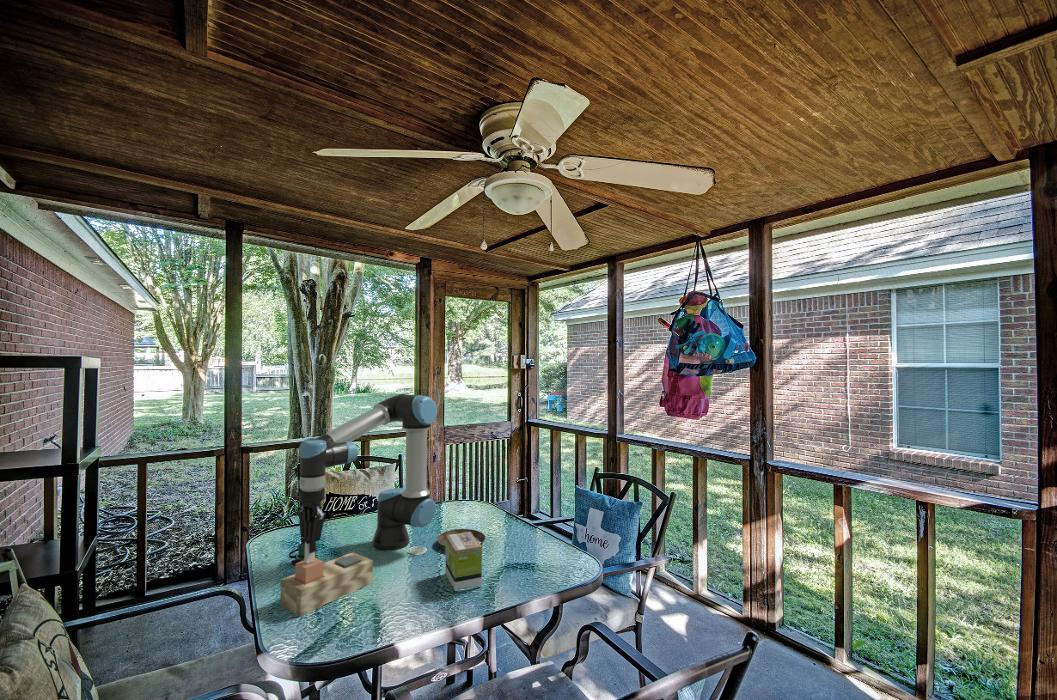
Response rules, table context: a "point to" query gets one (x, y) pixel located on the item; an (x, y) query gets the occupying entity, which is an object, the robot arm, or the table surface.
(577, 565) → the table surface
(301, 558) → the binoculars
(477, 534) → the plant saucer
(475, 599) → the table surface
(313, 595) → the frame
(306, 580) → the terracotta plunger
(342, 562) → the gray block
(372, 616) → the table surface
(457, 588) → the tea box
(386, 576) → the table surface
